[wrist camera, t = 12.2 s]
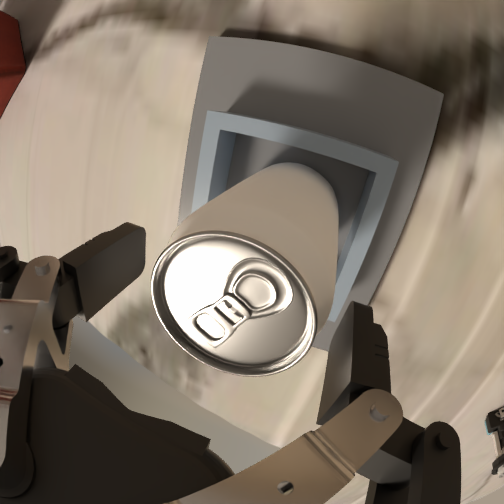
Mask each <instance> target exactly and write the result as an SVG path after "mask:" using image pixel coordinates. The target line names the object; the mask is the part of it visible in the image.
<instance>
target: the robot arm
mask: <svg viewBox="0 0 504 504" xmlns="http://www.w3.org/2000/svg"><path fill="white" fill-rule="evenodd" d="M145 246H146V232H145V229H144V228H143V227H140V226H137V225H134V224H132V223H129V222H126V223H124V224H122V225H120V226H119V227H117V228H115V229H113V230H111V231H108V232H104V233H101V234H99V235H98V236H96V237H94V238H93V239H92V240H89V241H87V242H86V243H85V244H82V245H81V246H79V247H77V248H76V249H74V250H72V251H71V252H69V253H68V254H66V255H64V256H63V257H61V258H60V259H57V258H56V257H53V256H40V257H37V258H34V259H33V260H31V261H30V262H29V263H26V262H22V261H19V258H18V254H17V250H16V248H14V247H12V246H4V247H0V504H324V503H325V502H327V501H328V500H329V499H330V498H331V497H333V496H334V495H335V494H336V493H337V492H339V491H340V490H341V489H342V488H343V487H344V486H345V485H347V484H348V483H349V482H350V481H351V480H352V479H353V478H354V476H355V474H354V473H355V472H356V473H358V474H360V475H362V476H364V477H366V478H368V479H370V482H369V487H368V492H367V496H366V501H365V504H460V500H461V452H460V440H459V437H458V434H457V433H456V431H455V430H454V428H453V427H451V426H450V425H449V424H447V423H445V422H440V421H438V422H434V423H432V424H430V425H429V426H428V427H427V428H426V429H425V428H423V427H421V426H419V425H417V424H415V423H413V422H411V421H409V420H408V419H406V418H404V417H403V410H402V407H401V405H400V403H399V401H398V400H397V399H396V398H395V397H394V396H393V395H392V394H391V381H390V365H389V360H388V358H389V352H388V341H387V336H386V334H385V332H384V330H383V328H382V326H381V325H379V324H376V323H374V322H373V309H372V307H370V306H367V305H364V304H361V303H358V302H355V301H351V302H350V304H349V306H348V308H347V310H346V312H345V314H344V316H343V318H342V319H341V321H340V323H339V325H338V327H337V329H336V331H335V333H334V335H333V338H332V340H331V343H330V347H329V353H328V360H327V367H326V373H325V379H324V385H323V391H322V396H321V402H320V407H319V412H318V417H317V422H316V424H318V425H322V426H321V427H320V428H318V429H317V430H315V431H309V432H307V433H305V434H304V435H302V436H300V437H299V438H297V439H296V440H294V441H293V442H291V443H290V444H288V445H286V446H285V447H283V448H282V449H280V450H279V451H277V452H275V453H274V454H272V455H270V456H268V457H267V458H265V459H263V460H261V461H260V462H258V463H256V464H254V465H252V466H250V467H249V468H247V469H245V470H243V471H241V472H239V473H237V474H234V472H233V471H232V470H231V468H230V467H229V466H228V465H227V464H226V463H225V462H224V460H222V459H221V458H220V457H219V456H218V455H217V454H215V453H214V452H212V451H211V450H210V449H209V444H210V440H211V439H209V438H206V437H204V436H202V435H199V434H197V433H195V432H192V431H190V430H188V429H186V428H184V427H181V426H179V425H177V424H175V423H173V422H170V421H166V420H162V419H158V418H155V417H151V416H147V415H144V414H140V413H137V412H134V411H131V410H129V409H128V408H126V407H125V406H124V405H123V404H122V403H121V402H120V401H119V400H118V399H117V398H116V397H115V396H114V395H113V393H112V392H111V391H110V390H109V389H108V388H107V387H106V386H105V385H104V384H103V383H102V382H101V381H99V380H98V379H96V378H95V377H93V376H92V375H90V374H89V373H87V372H86V371H84V370H83V369H82V368H80V367H79V366H78V365H76V364H75V365H74V366H73V367H72V368H71V369H70V370H69V354H70V346H71V338H72V330H73V320H72V318H73V317H75V316H78V317H79V318H81V319H82V320H84V321H85V322H87V321H88V320H89V319H90V318H92V317H93V316H94V315H95V314H96V313H97V312H98V311H99V310H101V309H102V308H103V307H104V306H105V305H106V304H107V303H109V302H110V301H111V300H112V299H113V298H114V297H115V296H117V295H118V294H119V293H120V292H121V291H122V290H124V289H125V288H126V287H127V286H128V285H129V284H131V283H132V282H133V281H134V280H135V279H137V278H138V277H139V276H140V275H141V273H142V272H143V269H144V266H145Z"/></svg>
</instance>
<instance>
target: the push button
mask: <svg viewBox="0 0 504 504" xmlns="http://www.w3.org/2000/svg"><path fill="white" fill-rule="evenodd" d="M485 426H486V431H487V435H490V434H491V437H493V442H494V448H495V454H496V460H495V461H494V462H493V463H492V465H493V470H492V474H493V475H495V474H498V475H499V478H500V477H504V407H503V408H501V409H500V410H499V411H496V412H490V413H488V415H487V418H486V420H485ZM501 450H502V452H501Z"/></svg>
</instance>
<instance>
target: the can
mask: <svg viewBox="0 0 504 504" xmlns="http://www.w3.org/2000/svg"><path fill="white" fill-rule="evenodd" d="M338 224H339V213H338V203H337V199H336V195H335V192H334V190H333V188H332V186H331V185H330V184H329V182H328V181H327V180H326V179H325V178H324V177H323V176H322V175H321V174H319V173H318V172H316V171H315V170H313V169H312V168H310V167H308V166H305V165H303V164H299V163H292V162H285V163H278V164H274V165H271V166H269V167H266V168H264V169H262V170H261V171H259V172H257V173H255V174H254V175H252V176H250V177H248V178H247V179H245V180H243V181H242V182H240V183H238V184H237V185H235V186H233V187H232V188H230V189H228V190H227V191H225V192H223V193H222V194H220V195H219V196H217V197H215V198H214V199H212V200H211V201H209V202H208V203H206V204H205V205H203V206H202V207H200V208H199V209H197V210H196V211H195V212H193V213H192V214H190V215H189V216H188V217H187V218H186V219H185V220H184V221H183V222H182V223H181V224H180V225H179V226H178V227H177V228H176V230H175V231H174V233H173V234H172V236H171V238H170V240H169V242H168V245H167V247H166V249H165V250H164V251H163V252H162V253H161V255H160V256H159V258H158V259H157V261H156V264H155V266H154V269H153V272H152V277H151V295H152V300H153V304H154V307H155V310H156V313H157V315H158V317H159V319H160V321H161V323H162V325H163V326H164V328H165V329H166V331H167V332H168V334H169V335H170V336H171V337H172V338H173V340H174V341H175V342H176V343H177V344H178V345H179V346H180V347H181V348H182V349H184V350H185V351H186V352H187V353H188V354H190V355H191V356H193V357H194V358H195V359H197V360H199V361H200V362H202V363H204V364H206V365H208V366H210V367H212V368H214V369H217V370H219V371H222V372H225V373H229V374H233V375H239V376H248V377H260V376H268V375H273V374H276V373H280V372H282V371H285V370H287V369H289V368H291V367H292V366H294V365H295V364H297V363H298V362H299V361H300V360H301V359H302V358H303V357H304V356H305V355H306V354H307V353H308V351H309V350H310V348H311V346H312V344H313V342H314V339H315V337H316V336H317V334H318V333H319V332H320V331H321V329H322V328H323V326H324V325H325V323H326V321H327V319H328V317H329V314H330V311H331V308H332V304H333V300H334V292H335V283H336V271H337V254H338Z"/></svg>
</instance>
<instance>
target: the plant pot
mask: <svg viewBox="0 0 504 504" xmlns="http://www.w3.org/2000/svg"><path fill="white" fill-rule="evenodd" d="M25 69H26V65H25V61H24V56H23V50H22V45H21V39H20V33H19V26H18V20H17V19H15V18H14V17H12V16H10V15H8V14H6V13H4V12H2V11H0V117H1V115H2V113H3V111H4V109H5V107H6V105H7V103H8V101H9V100H10V98H11V96H12V94H13V92H14V91H15V89H16V87H17V85H18V84H19V82H20V80H21V79H22V77H23V75H24V73H25Z"/></svg>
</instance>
